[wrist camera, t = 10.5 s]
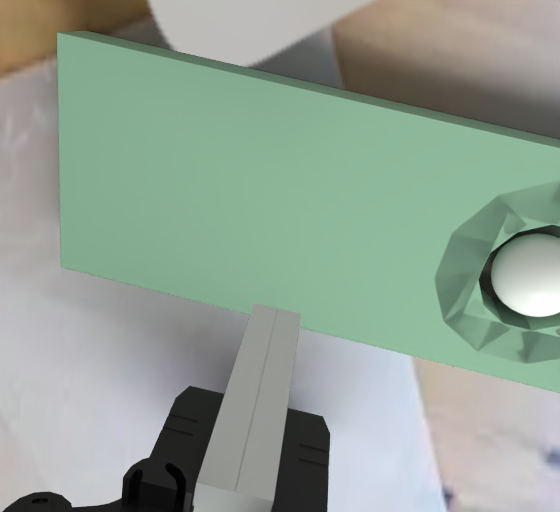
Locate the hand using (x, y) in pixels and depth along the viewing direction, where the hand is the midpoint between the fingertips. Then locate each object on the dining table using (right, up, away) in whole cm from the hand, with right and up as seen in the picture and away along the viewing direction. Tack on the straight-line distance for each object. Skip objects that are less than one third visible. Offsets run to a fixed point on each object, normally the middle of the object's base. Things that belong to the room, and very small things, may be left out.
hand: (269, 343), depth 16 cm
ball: (+13, +2, +8) cm, 15 cm away
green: (+4, +5, +10) cm, 12 cm away
